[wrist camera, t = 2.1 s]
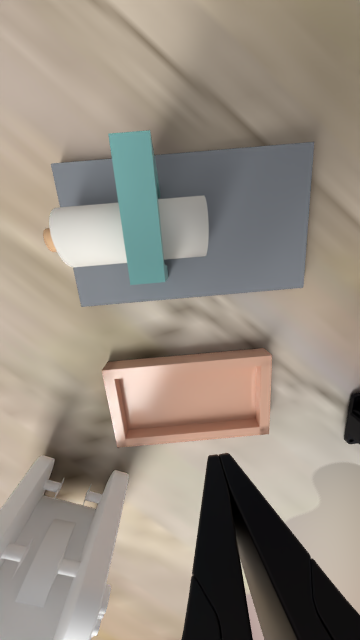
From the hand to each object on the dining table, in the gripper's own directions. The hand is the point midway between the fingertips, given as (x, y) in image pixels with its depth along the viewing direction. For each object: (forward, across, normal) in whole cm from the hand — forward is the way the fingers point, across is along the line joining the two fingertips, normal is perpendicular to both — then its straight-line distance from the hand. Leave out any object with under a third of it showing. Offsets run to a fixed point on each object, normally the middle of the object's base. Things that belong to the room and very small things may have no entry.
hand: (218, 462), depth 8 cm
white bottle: (+12, +4, -10) cm, 16 cm away
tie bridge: (+12, +2, -10) cm, 16 cm away
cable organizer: (+13, +16, +18) cm, 27 cm away
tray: (+12, 0, +6) cm, 14 cm away
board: (+13, -1, -10) cm, 16 cm away
